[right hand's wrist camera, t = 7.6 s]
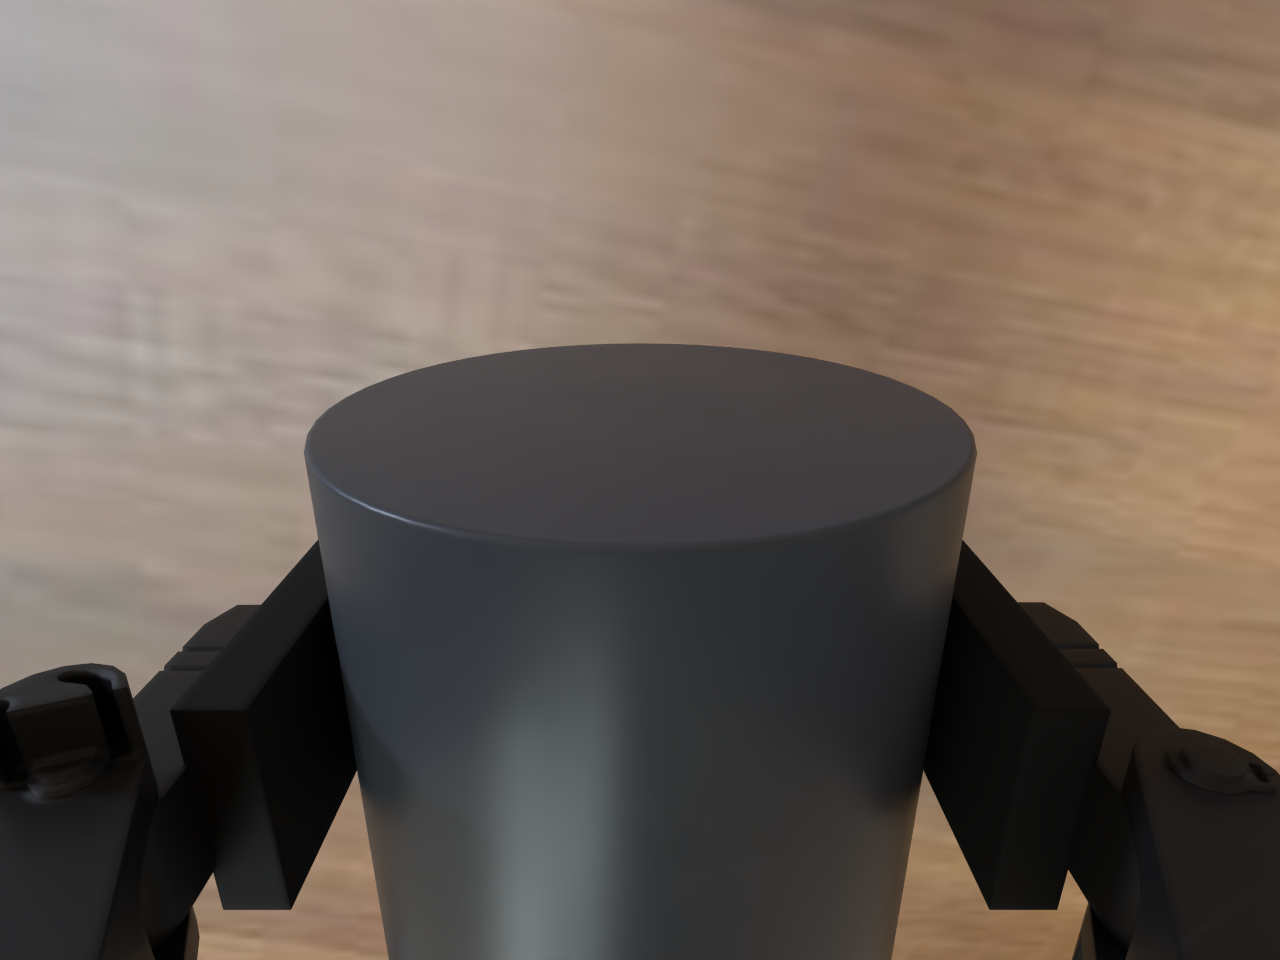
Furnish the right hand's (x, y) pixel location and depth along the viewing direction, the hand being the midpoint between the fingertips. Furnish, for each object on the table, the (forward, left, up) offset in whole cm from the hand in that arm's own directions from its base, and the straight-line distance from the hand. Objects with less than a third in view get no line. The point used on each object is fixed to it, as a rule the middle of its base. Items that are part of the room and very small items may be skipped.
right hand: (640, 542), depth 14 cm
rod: (-2, +7, -1) cm, 8 cm away
